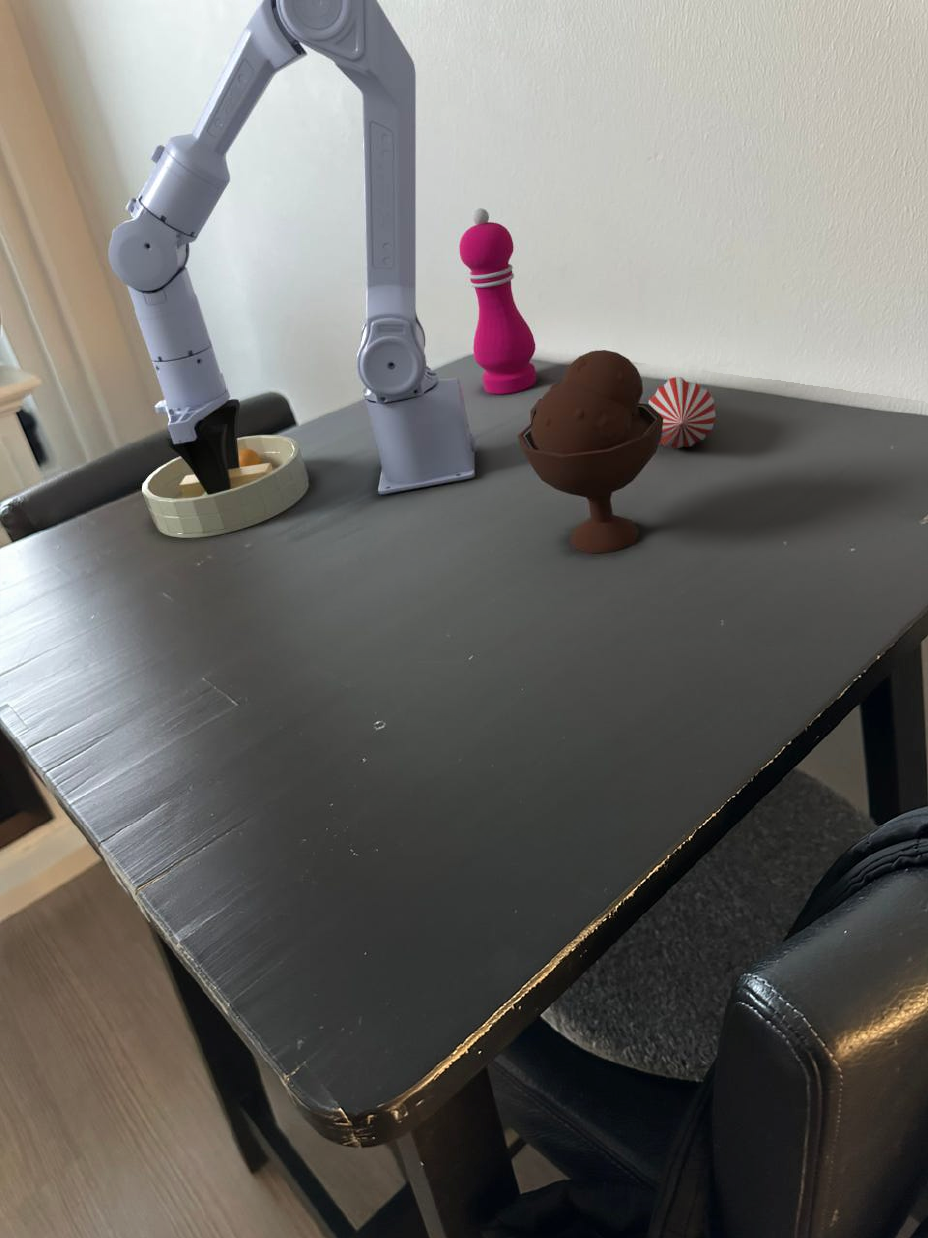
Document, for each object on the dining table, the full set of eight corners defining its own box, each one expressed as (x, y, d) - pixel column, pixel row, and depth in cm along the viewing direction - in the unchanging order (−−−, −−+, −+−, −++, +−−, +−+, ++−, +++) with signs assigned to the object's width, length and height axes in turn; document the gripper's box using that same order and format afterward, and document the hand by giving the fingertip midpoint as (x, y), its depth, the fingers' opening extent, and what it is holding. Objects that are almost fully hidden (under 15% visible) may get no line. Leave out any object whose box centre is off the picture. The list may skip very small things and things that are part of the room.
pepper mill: (476, 399, 119) (441, 220, 109) (485, 379, 125) (452, 208, 115) (537, 391, 118) (507, 208, 108) (544, 371, 124) (515, 196, 114)
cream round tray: (318, 458, 112) (308, 424, 110) (297, 520, 98) (285, 482, 96) (177, 485, 114) (165, 451, 112) (136, 549, 100) (122, 512, 98)
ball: (263, 477, 111) (268, 452, 110) (246, 479, 109) (251, 454, 108) (244, 469, 112) (248, 444, 111) (226, 471, 110) (231, 446, 109)
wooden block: (278, 489, 105) (270, 462, 103) (273, 499, 102) (265, 471, 101) (194, 502, 106) (185, 475, 104) (188, 512, 104) (179, 484, 102)
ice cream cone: (690, 440, 108) (698, 472, 89) (635, 414, 108) (632, 440, 89) (719, 385, 105) (734, 406, 87) (663, 358, 106) (666, 374, 87)
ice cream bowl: (592, 499, 89) (568, 328, 82) (701, 521, 82) (684, 336, 74) (510, 552, 84) (476, 374, 76) (618, 581, 76) (592, 387, 69)
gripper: (160, 338, 102) (202, 464, 109) (117, 382, 90) (168, 522, 96) (229, 325, 101) (266, 453, 108) (195, 368, 89) (240, 510, 96)
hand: (224, 485), depth 102 cm, fingers open, 4 cm apart
